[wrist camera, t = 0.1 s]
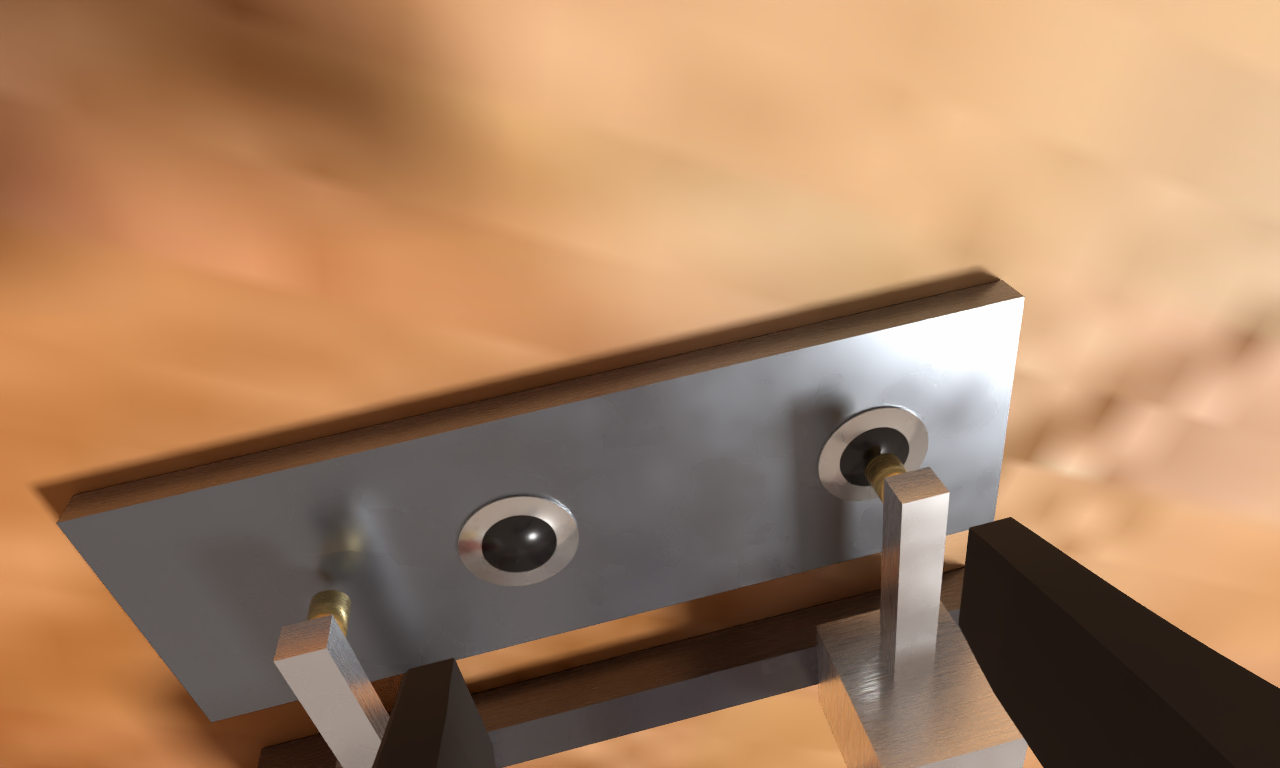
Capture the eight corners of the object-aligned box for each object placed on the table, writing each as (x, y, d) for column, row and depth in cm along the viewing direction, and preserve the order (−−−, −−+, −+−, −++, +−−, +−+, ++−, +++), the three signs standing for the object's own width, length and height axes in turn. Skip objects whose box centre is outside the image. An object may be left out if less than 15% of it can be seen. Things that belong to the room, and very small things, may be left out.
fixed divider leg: (929, 671, 27) (1012, 813, 23) (819, 701, 27) (883, 850, 23) (952, 419, 21) (1069, 551, 17) (808, 454, 21) (893, 597, 17)
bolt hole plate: (976, 502, 25) (996, 526, 25) (220, 692, 24) (209, 727, 23) (1002, 280, 21) (1028, 299, 20) (73, 495, 19) (53, 527, 18)
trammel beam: (964, 605, 28) (987, 639, 27) (286, 782, 27) (277, 827, 25) (968, 566, 27) (992, 599, 26) (261, 749, 25) (251, 794, 24)
